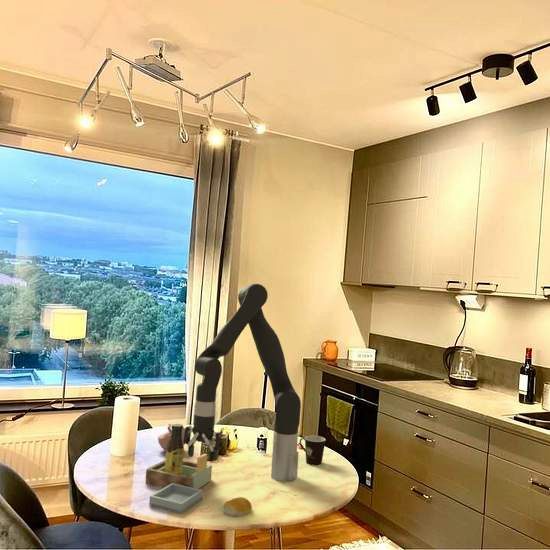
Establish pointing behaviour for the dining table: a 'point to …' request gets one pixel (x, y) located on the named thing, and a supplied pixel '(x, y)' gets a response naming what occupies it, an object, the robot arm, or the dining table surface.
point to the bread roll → (237, 507)
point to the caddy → (197, 472)
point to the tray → (176, 498)
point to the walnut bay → (168, 476)
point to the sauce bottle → (175, 451)
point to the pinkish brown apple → (168, 437)
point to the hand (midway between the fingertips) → (201, 458)
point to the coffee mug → (314, 449)
